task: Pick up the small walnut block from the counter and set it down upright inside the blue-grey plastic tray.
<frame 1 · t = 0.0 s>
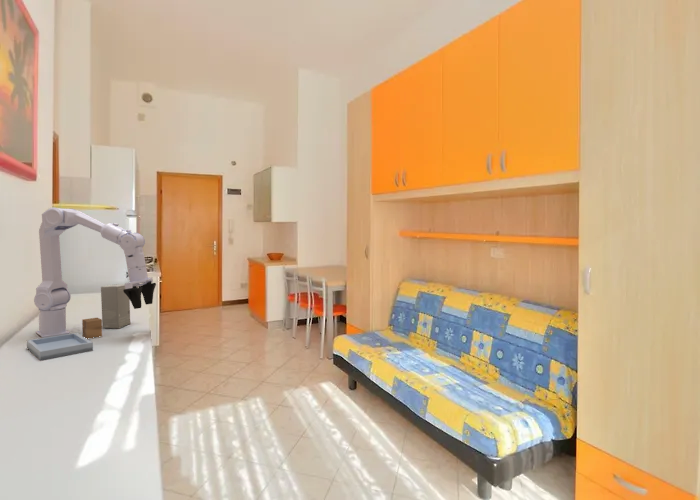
hand: (143, 306, 139), 11 cm above the table, tool pointing down, fingers open, 7 cm apart
skincare box: (116, 326, 153), on the table
walnut block: (92, 336, 138), on the table
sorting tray: (59, 349, 123), on the table
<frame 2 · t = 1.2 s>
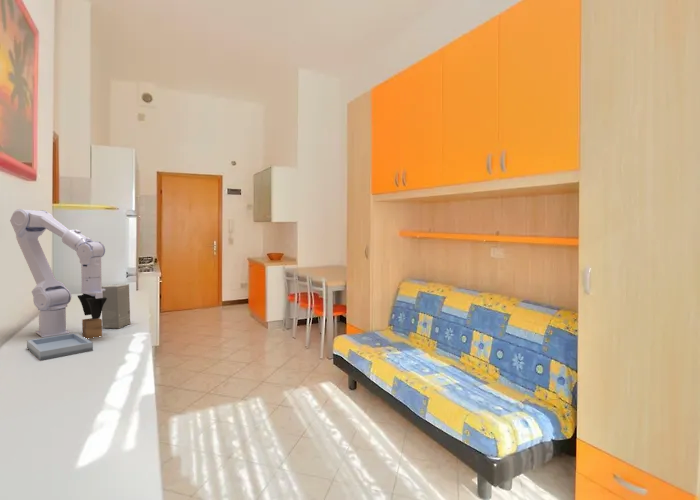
hand: (92, 316, 137), 7 cm above the table, tool pointing down, fingers open, 7 cm apart
nothing on the table moved.
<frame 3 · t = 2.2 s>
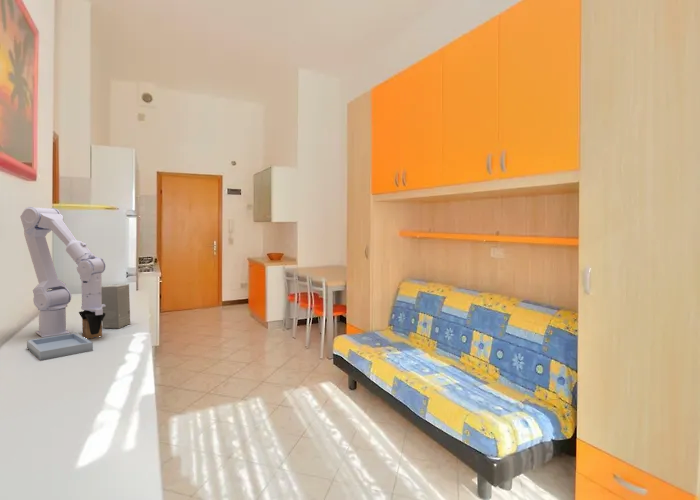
hand: (92, 332, 138), 1 cm above the table, tool pointing down, fingers closed on walnut block, 4 cm apart
walnut block: (92, 336, 138), on the table, touching gripper
everything else where it was.
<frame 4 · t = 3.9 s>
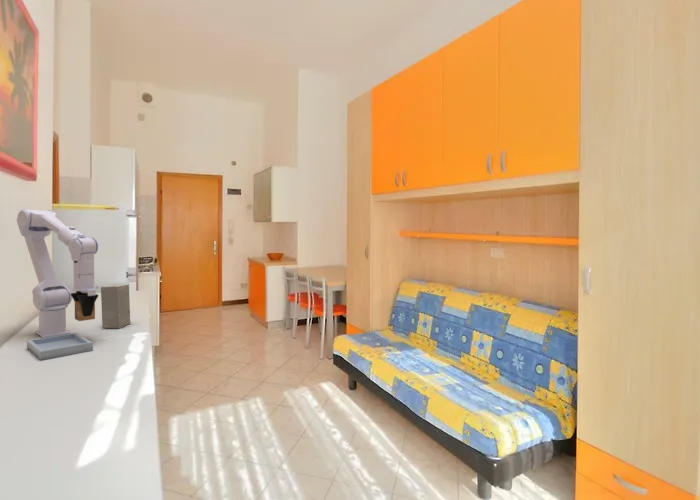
hand: (84, 314, 134), 8 cm above the table, tool pointing down, fingers closed on walnut block, 4 cm apart
walnut block: (84, 318, 134), point 7 cm above the table, touching gripper
everything else where it was.
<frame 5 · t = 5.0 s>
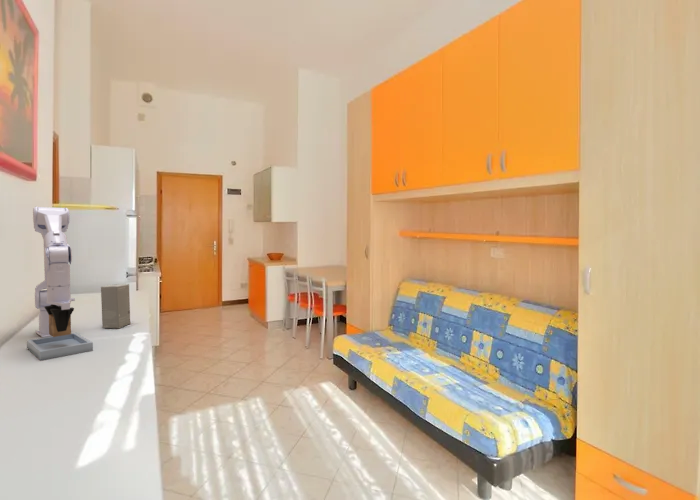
hand: (59, 329, 123), 6 cm above the table, tool pointing down, fingers closed on walnut block, 4 cm apart
walnut block: (60, 334, 123), point 5 cm above the table, touching gripper
everything else where it was.
when the fingers open (4 cm above the table, at t = 5.8 s): walnut block drops 1 cm, resting on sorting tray.
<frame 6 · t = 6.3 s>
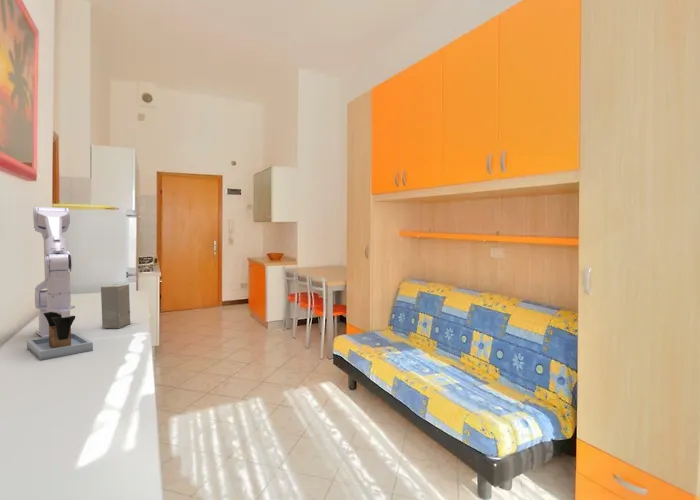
hand: (59, 336, 123), 4 cm above the table, tool pointing down, fingers open, 7 cm apart
walnut block: (60, 346, 123), point 1 cm above the table, touching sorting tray
everything else where it was.
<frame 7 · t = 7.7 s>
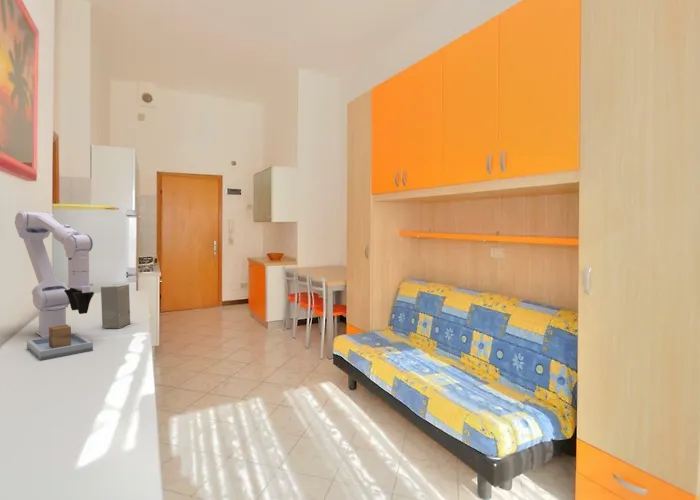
hand: (79, 311, 134), 9 cm above the table, tool pointing down, fingers open, 7 cm apart
nothing on the table moved.
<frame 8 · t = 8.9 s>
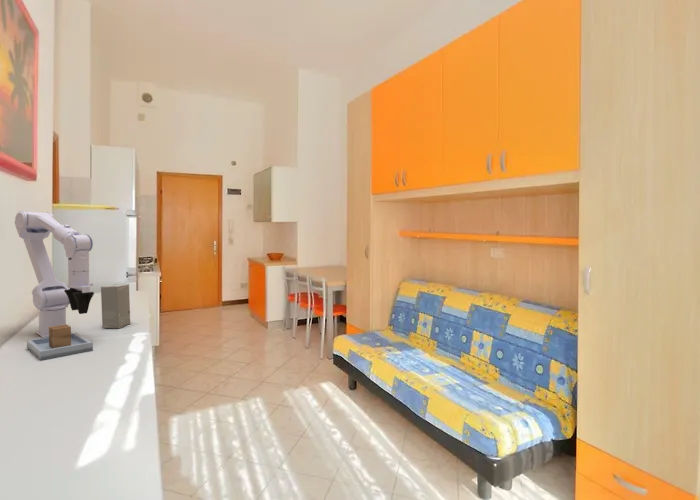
hand: (79, 311, 134), 9 cm above the table, tool pointing down, fingers open, 7 cm apart
nothing on the table moved.
at the end: walnut block inside the target area on the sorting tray (0.1 cm from its centre), point 1.0 cm above the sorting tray's base; walnut block tilted 0°; the gripper is holding nothing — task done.
